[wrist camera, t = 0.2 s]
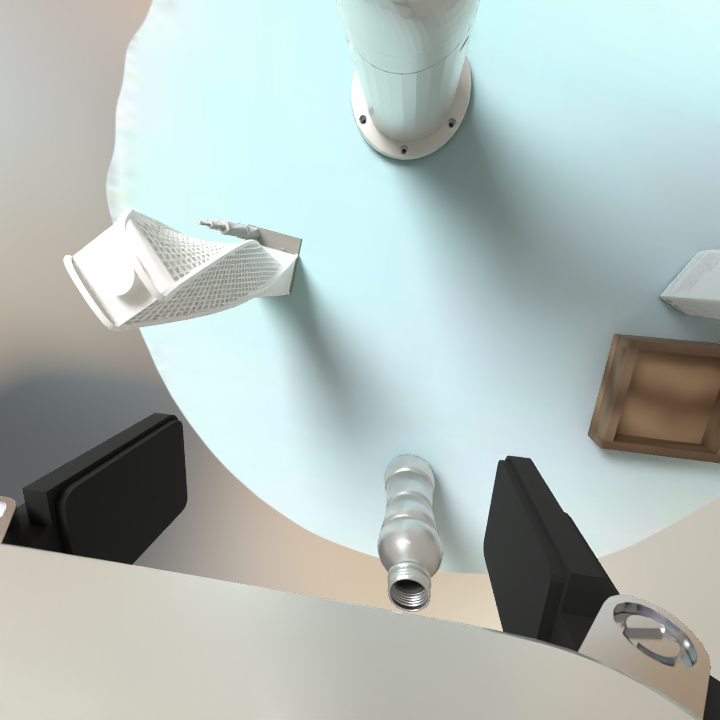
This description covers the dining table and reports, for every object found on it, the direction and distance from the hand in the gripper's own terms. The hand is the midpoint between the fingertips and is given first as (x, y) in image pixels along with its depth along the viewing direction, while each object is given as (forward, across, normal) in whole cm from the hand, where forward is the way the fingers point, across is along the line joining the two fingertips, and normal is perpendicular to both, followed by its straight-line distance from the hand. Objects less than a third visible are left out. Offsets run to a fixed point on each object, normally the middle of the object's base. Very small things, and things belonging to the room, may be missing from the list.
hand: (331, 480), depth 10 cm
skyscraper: (+37, +16, -5) cm, 40 cm away
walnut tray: (+36, -32, +7) cm, 49 cm away
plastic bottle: (+37, -4, +21) cm, 43 cm away
